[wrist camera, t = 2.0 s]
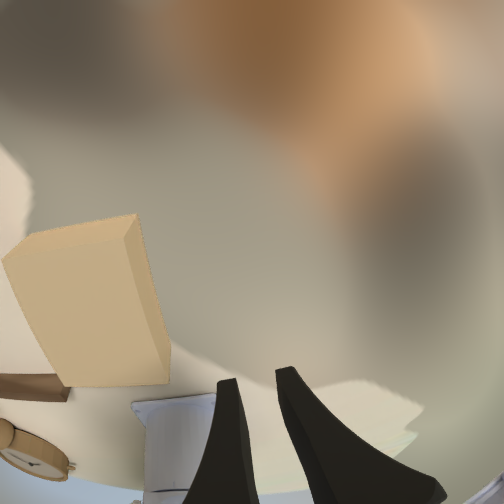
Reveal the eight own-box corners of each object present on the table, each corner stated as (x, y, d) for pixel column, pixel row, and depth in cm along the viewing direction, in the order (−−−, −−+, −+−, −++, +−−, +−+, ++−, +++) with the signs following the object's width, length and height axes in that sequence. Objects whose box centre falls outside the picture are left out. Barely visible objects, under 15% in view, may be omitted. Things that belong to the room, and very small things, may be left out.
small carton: (171, 343, 21) (169, 383, 17) (77, 350, 20) (64, 386, 16) (138, 212, 17) (123, 237, 13) (30, 233, 16) (1, 259, 12)
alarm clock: (55, 485, 26) (-31, 449, 18) (55, 459, 30) (-27, 422, 22) (81, 476, 24) (-26, 433, 16) (80, 444, 28) (-19, 399, 20)
